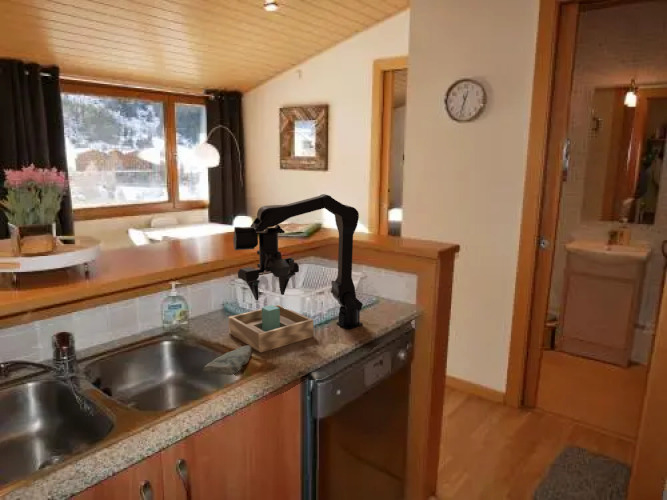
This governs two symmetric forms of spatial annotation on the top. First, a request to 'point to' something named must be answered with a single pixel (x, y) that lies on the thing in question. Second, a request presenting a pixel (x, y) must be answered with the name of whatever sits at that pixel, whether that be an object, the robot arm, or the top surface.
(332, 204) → the robot arm
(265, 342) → the box
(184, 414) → the top surface
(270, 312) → the peg
